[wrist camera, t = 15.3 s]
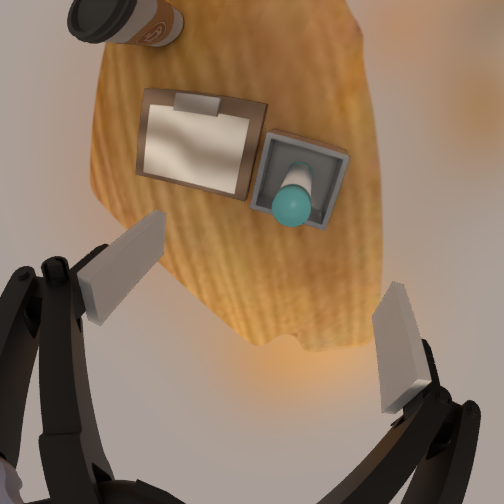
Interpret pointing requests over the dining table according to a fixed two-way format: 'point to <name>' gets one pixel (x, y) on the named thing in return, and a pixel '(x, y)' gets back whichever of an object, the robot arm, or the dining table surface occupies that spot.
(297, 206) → the marker
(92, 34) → the coffee cup
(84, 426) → the robot arm
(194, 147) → the clipboard
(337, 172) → the grey open box
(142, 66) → the dining table surface
